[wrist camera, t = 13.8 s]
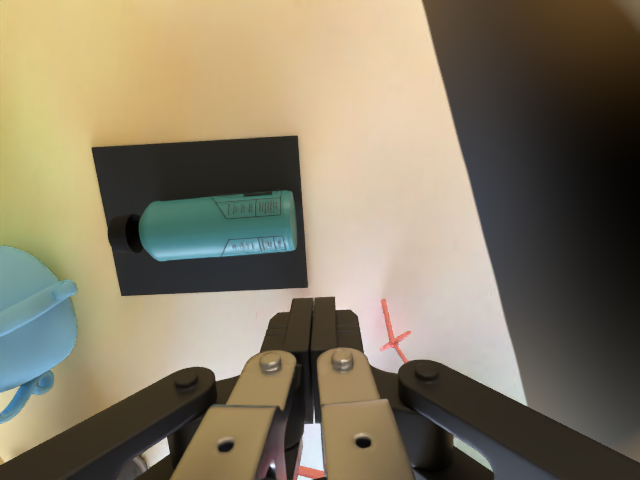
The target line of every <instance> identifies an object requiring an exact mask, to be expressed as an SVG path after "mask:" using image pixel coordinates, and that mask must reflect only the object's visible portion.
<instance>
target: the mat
mask: <svg viewBox="0 0 640 480" xmlns="http://www.w3.org/2000/svg"><path fill="white" fill-rule="evenodd" d="M92 153H93V158H94V163H95V168H96V172H97V177H98V182H99V187H100V192H101V197H102V202H103V207H104V212H105V217H106V222H107V227H108V226H109V223H110V221H111V220H112V219H113V218H114V217H116V216H122V215H127V214H137V215H139V216H140V218H141V216H142V214H143V212H144V211H145V209H146V208H147V207H148V206H149V204H150V203H152V202H154V201H171V200H182V199H194V198H202V197H211V196H222V195H223V194H224V195H226V194H228V195H233V194H234V195H236V193H237V194H244V193H245V192H247V193H245V194H248V193H258V192H259V191H261V192H271V191H274V190H275V191H277V190H278V189H280V190H278V191H281V190H282V191H284V190H287V191H292V193H293V197H294V203H295V211H296V222H297V247H296V249H295V250H292V251H289V253H288V251H287V252H285V253H283V252H282V253H281V252H280V253H278V252H274V253H261V254H265V255H261V254H256V256H255V254H249V255H241V256H243V257H241V256H240V255H237V256H236V257H235V256H234V257H233V256H230V257H232V258H230V257H229V256H225V257H216V258H215V257H206V258H193V259H179V260H167V261H158V260H156V259H154V258H153V257H152V256H151V255H150V254H149V253H148V252H147V251H146V250H145V248H143V250H142V251H141V252H140V253H135V254H131V253H118V252H116V251H115V250H113V248H112V251H113V256H114V261H115V266H116V271H117V276H118V281H119V286H120V291H121V296H130V295H153V294H175V293H197V292H220V291H242V290H265V289H287V288H308V281H307V266H306V252H305V237H304V222H303V208H302V193H301V178H300V164H299V149H298V136H283V137H265V138H248V139H231V140H214V141H197V142H179V143H162V144H145V145H128V146H111V147H93V148H92ZM283 189H284V190H283ZM265 190H268V191H265ZM253 191H257V192H253ZM240 192H242V193H240ZM230 193H231V194H230ZM259 193H260V192H259ZM217 194H218V195H217ZM219 194H220V195H219ZM207 195H208V196H207ZM209 195H210V196H209ZM224 195H223V196H224ZM277 253H278V254H277ZM267 254H269V255H267ZM250 255H251V256H250ZM252 255H253V256H252ZM228 257H229V258H228ZM217 258H219V259H217Z"/></svg>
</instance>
